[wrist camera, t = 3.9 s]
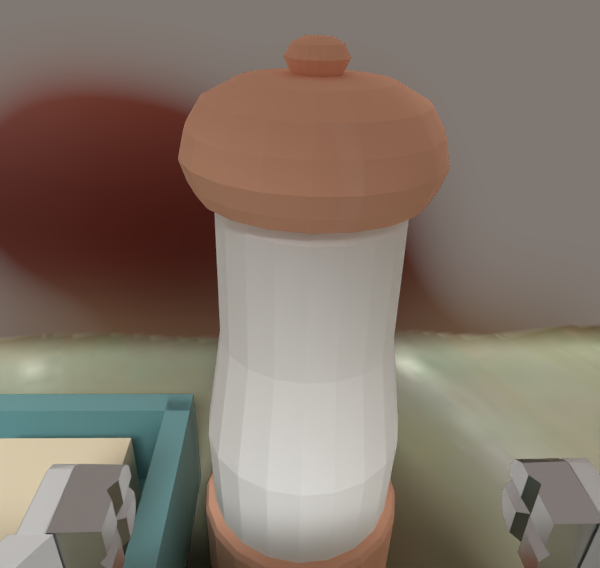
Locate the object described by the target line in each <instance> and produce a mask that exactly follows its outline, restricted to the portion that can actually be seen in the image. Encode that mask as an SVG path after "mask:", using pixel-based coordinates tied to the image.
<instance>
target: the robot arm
mask: <svg viewBox="0 0 600 568" xmlns="http://www.w3.org/2000/svg"><path fill="white" fill-rule="evenodd" d="M509 473H510V475H511V477H512V480H511V481H510V482H509V483H508V484H507V485H505V486H504V490H503V494H502V512H503V516H504V520H505V523H506V525H507V528H508V530H509V532H510V533H511V534H512V535H513V536H515V537H516V538H517V539H518V540H519V541H521V543H520V546H519V549H518V553H519V556H520V558H521V560H522V563H523V565H524V567H525V568H600V474H599V473H598V471H597V470H596V468H595V467H594V465H593V464H592V463H591V462H590V461H589V460H588V459H586V458H562V459H559V458H547V459H515V460H514V461H513V462H512V463H511V467H510V470H509ZM130 479H131V473H130V469H129V465H124V464H53V465H52V466H51V467H50V468H49V469H48V470H47V471H46V473H45V475H44V477H43V479H42V481H41V483H40V486H39V488H38V490H37V492H36V494H35V496H34V498H33V500H32V502H31V504H30V506H29V508H28V510H27V512H26V514H25V516H24V518H23V520H22V522H21V524H20V526H19V529H18V531H17V533H16V535H7V536H6V537H5V538H3V539H2V540H1V541H0V568H123V565H124V561H125V557H124V552H123V546H124V545H125V544H126V543H127V542H128V541H129V540H130V539H131V535H132V531H133V527H134V522H135V513H136V499H135V494H134V491H133V490H132V489H131V488H129V487H128V486H129V483H130Z"/></svg>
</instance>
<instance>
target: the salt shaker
mask: <svg viewBox="0 0 600 568" xmlns="http://www.w3.org/2000/svg"><path fill="white" fill-rule="evenodd" d="M284 57H285V60H286V62H287V65H288V67H289V68H281V69H280V68H279V69H264V70H255V71H250V72H244V73H242V74H239V75H237V76H235V77H233V78H231V79H229V80H227V81H225V82H223V83H221V84H220V85H218V86H216V87H214V88H212V89H210V90H208V91H206V92H204V93H202V94H201V95H200V97H199V99H198V100H197V102H196V104H195V106H194V108H193V109H192V111H191V113H190V114H189V116H188V118H187V120H186V122H185V126H184V129H183V134H182V139H181V145H180V151H179V156H178V160H179V163H180V165H181V167H182V170H183V172H184V175H185V177H186V179H187V182H188V183H189V185H190V187H191V188H192V190H193V191H194V193H195V195H196V196H197V197H198V199H199V200H200V201H201V202H202V203H203V204H204V205H205V207H206V208H207V209H209V210H211V211H213V212H215V230H216V231H215V233H216V253H217V275H218V296H219V317H220V334H219V342H218V350H217V358H216V365H215V373H214V381H213V389H212V397H211V405H210V412H209V442H210V450H211V459H212V467H213V471H212V474H211V476H210V478H209V481H208V483H207V494H206V516H207V527H208V538H209V549H210V560H211V566H212V568H386V563H387V557H388V551H389V546H390V540H391V534H392V528H393V522H394V510H395V491H394V488H393V485H392V482H391V479H390V477H391V472H392V467H393V462H394V457H395V452H396V447H397V438H398V408H397V388H396V368H395V348H394V332H395V324H396V316H397V307H398V300H399V292H400V285H401V277H402V269H403V261H404V253H405V245H406V237H407V229H408V220H409V219H411V218H414V217H416V216H417V215H418V214H419V213H420V212H421V211H422V210H423V209H424V208H425V207H426V206H427V205H428V204H429V203H430V201H431V200H432V199H433V197H434V196H435V195H436V193H437V192H438V190H439V189H440V187H441V185H442V183H443V181H444V179H445V177H446V175H447V173H448V171H449V169H450V165H449V155H448V147H447V137H446V133H445V129H444V127H443V125H442V122H441V120H440V118H439V116H438V114H437V112H436V110H435V108H434V106H433V104H432V102H431V101H429V100H428V99H426V98H425V97H423V96H421V95H420V94H418V93H416V92H415V91H413V90H411V89H410V88H408V87H406V86H405V85H403V84H402V83H400V82H398V81H397V80H395V79H393V78H391V77H387V76H383V75H379V74H374V73H367V72H361V71H351V70H350V71H349V70H345V69H346V67H347V65H348V63H349V61H350V59H351V57H350V54H349V52H348V49H347V48H346V45H345V43H343V42H341V41H340V40H338V39H337V38H335V37H333V36H325V35H304V36H302V37H300V38H298V39H296V40H294V41H292V42H291V43H290V45H289V47H288V49H287V51H286V53H285V55H284Z"/></svg>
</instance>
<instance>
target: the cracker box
mask: <svg viewBox="0 0 600 568" xmlns="http://www.w3.org/2000/svg"><path fill="white" fill-rule="evenodd" d="M53 464H124V465H129V469H130V473H131V479H130V483H129V486H128V487H129V488H131V489H132V490H133V491H134V494H135V499H136V513H135V517H136V514H137V510H138V507H139V503H140V499H141V491H140V485H139V480H138V474H137V468H136V463H135V457H134V451H133V446H132V440H131V438H0V541H1V540H2V539H3V538H5V537H6V536H7V535H16V533H17V531H18V529H19V526H20V524H21V522H22V520H23V518H24V516H25V514H26V512H27V510H28V508H29V506H30V504H31V502H32V500H33V498H34V496H35V494H36V492H37V490H38V488H39V486H40V483H41V481H42V479H43V477H44V475H45V473H46V471H47V470H48V469H49V468H50V467H51V466H52V465H53ZM128 543H129V541H128V542H127V543H126V544H125V545H124V546H123V552H124V557H125V554H126V550H127V546H128Z"/></svg>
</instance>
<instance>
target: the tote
mask: <svg viewBox="0 0 600 568" xmlns="http://www.w3.org/2000/svg"><path fill="white" fill-rule="evenodd" d="M0 438H131V440H132V446H133V451H134V457H135V463H136V468H137V474H138V480H139V485H140V491H141V499H140V503H139V507H138V510H137V514H136V517H135V522H134V527H133V531H132V535H131V539H130V540H129V543H128V546H127V550H126V554H125V561H124V565H123V568H186V564H187V558H188V552H189V546H190V540H191V534H192V528H193V522H194V516H195V510H196V504H197V498H198V492H199V485H200V479H201V471H200V460H199V449H198V438H197V428H196V417H195V406H194V395H193V394H0Z"/></svg>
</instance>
